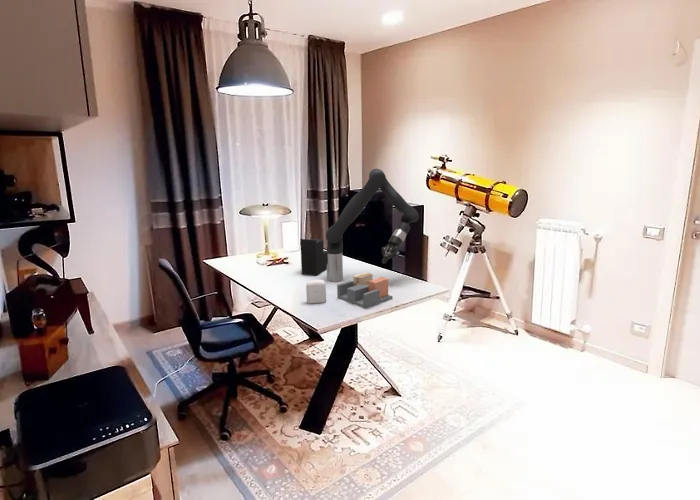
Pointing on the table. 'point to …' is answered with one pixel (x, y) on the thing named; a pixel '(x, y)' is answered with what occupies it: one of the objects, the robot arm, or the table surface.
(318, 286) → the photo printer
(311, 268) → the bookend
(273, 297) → the table surface
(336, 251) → the robot arm
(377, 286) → the terracotta plug
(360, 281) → the ash plug
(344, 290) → the grey slotted tray
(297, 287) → the table surface
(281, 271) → the table surface
